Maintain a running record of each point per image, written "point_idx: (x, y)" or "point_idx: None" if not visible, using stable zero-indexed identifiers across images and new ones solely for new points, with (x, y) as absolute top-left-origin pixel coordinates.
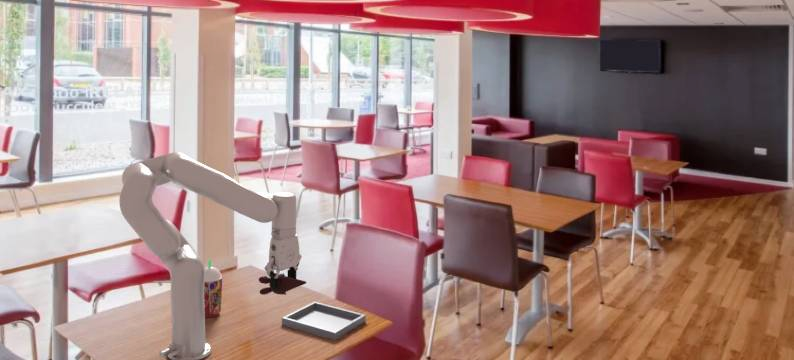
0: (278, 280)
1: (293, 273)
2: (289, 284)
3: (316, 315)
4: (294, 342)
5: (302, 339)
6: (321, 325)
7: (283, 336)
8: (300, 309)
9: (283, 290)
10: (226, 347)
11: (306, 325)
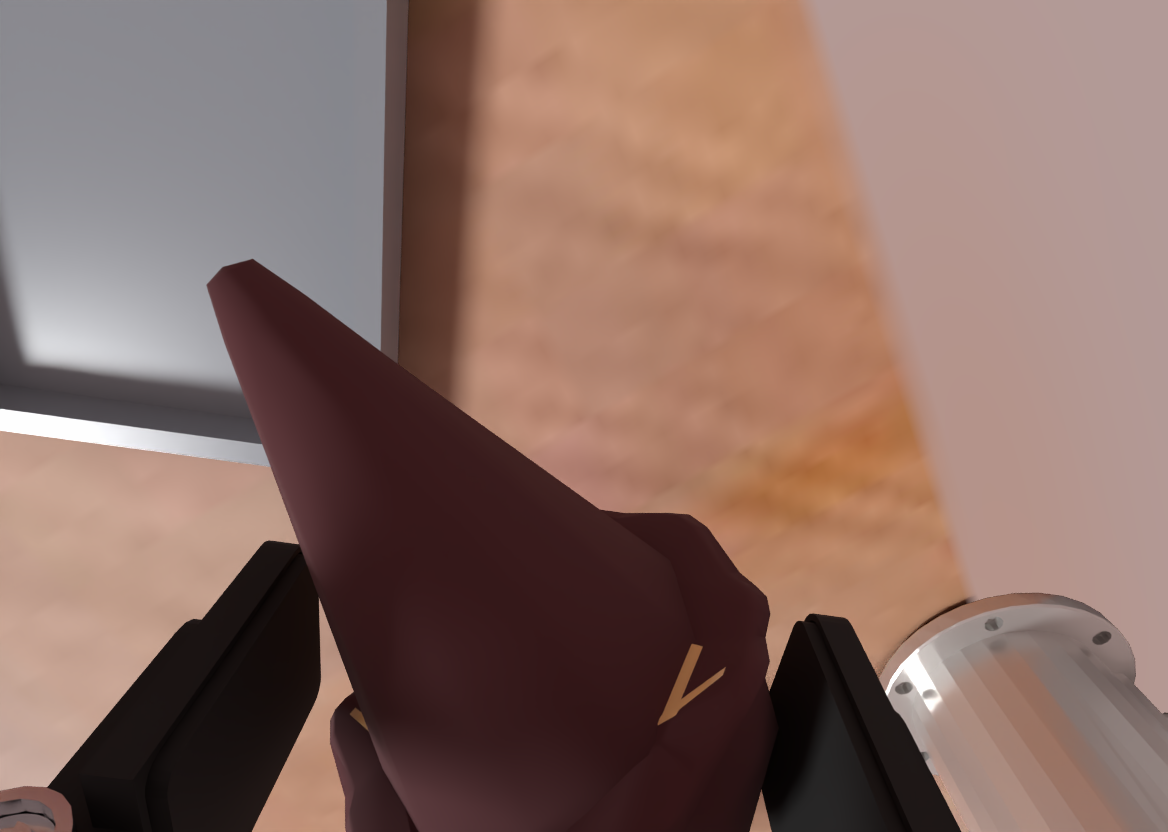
0: (931, 810)
1: (202, 759)
2: (601, 556)
3: (92, 297)
4: (627, 197)
5: (546, 164)
6: (230, 142)
7: (566, 337)
8: (147, 439)
9: (720, 550)
10: (866, 566)
11: (385, 221)
